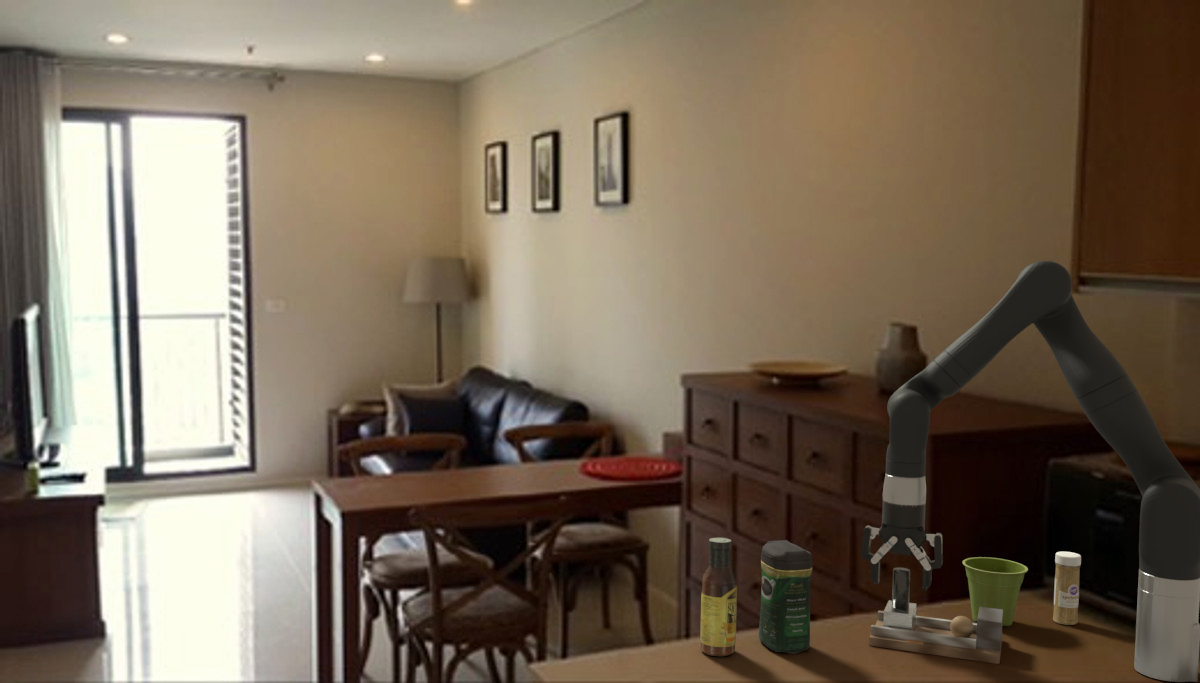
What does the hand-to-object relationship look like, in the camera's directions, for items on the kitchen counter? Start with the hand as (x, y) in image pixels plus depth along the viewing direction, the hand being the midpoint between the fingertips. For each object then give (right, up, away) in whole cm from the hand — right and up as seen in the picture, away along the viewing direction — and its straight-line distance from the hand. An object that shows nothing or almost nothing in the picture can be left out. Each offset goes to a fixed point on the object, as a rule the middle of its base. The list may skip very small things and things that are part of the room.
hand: (900, 586), depth 197 cm
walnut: (+10, -7, -4) cm, 13 cm away
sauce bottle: (-34, -10, -8) cm, 37 cm away
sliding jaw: (0, -8, 0) cm, 8 cm away
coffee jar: (-22, -10, -5) cm, 25 cm away
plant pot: (+21, -10, +10) cm, 25 cm away
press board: (+6, -10, -2) cm, 12 cm away
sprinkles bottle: (+35, -10, +11) cm, 38 cm away
